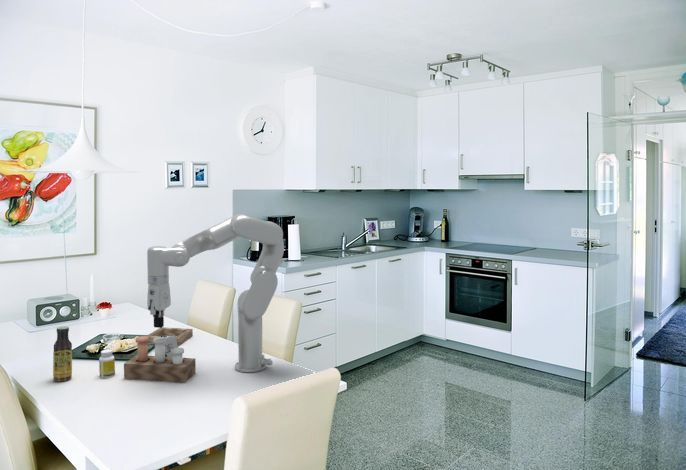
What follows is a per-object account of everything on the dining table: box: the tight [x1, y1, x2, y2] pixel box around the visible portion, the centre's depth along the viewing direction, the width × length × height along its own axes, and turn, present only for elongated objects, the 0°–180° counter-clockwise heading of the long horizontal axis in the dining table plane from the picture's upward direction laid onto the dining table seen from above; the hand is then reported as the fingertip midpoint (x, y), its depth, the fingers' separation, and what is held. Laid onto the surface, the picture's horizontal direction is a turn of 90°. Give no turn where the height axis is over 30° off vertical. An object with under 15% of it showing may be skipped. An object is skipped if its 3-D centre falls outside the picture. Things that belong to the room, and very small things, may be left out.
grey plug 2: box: [171, 347, 185, 364], centre depth 200 cm, size 5×5×10 cm
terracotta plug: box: [135, 335, 149, 362], centre depth 201 cm, size 5×5×10 cm
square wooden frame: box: [146, 326, 194, 347], centre depth 245 cm, size 16×16×4 cm
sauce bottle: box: [52, 325, 73, 383], centre depth 195 cm, size 7×6×20 cm
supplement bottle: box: [98, 348, 116, 379], centre depth 200 cm, size 5×5×10 cm
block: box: [123, 354, 197, 384], centre depth 201 cm, size 24×10×6 cm, turn 83°
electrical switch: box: [153, 336, 179, 357], centre depth 221 cm, size 9×5×9 cm, turn 141°
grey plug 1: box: [153, 336, 166, 363], centre depth 200 cm, size 5×5×10 cm
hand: (158, 326), depth 199 cm, fingers closed
